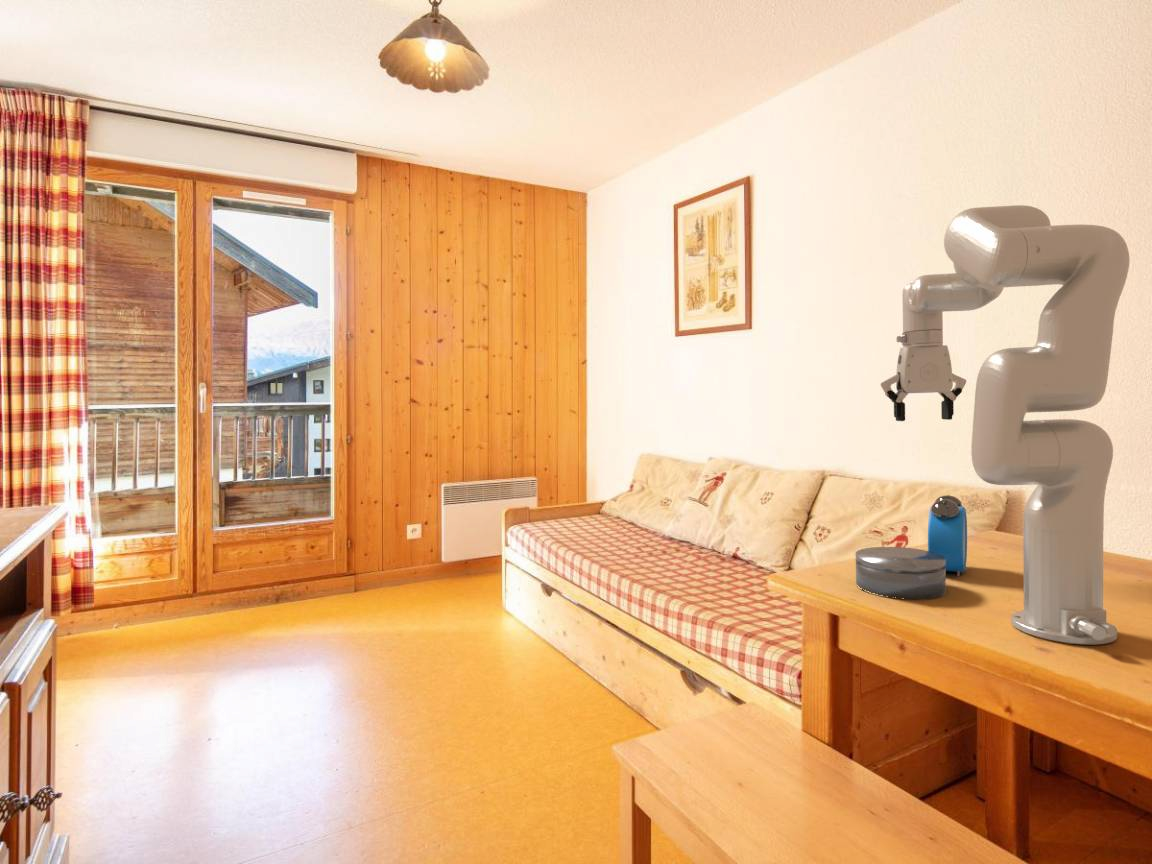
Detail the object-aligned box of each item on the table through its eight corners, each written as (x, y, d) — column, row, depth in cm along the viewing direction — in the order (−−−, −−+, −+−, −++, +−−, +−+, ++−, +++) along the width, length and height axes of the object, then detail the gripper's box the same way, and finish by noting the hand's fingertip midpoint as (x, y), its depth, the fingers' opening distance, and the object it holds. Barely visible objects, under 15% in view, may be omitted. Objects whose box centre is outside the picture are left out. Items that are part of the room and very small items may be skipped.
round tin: (962, 599, 112) (962, 565, 112) (874, 600, 114) (873, 566, 113) (922, 576, 127) (922, 546, 127) (844, 577, 128) (844, 547, 128)
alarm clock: (963, 580, 123) (962, 503, 123) (926, 576, 127) (925, 501, 126) (967, 565, 134) (967, 493, 133) (933, 562, 138) (933, 492, 137)
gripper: (888, 340, 135) (889, 422, 136) (974, 336, 134) (974, 419, 134) (874, 343, 142) (875, 421, 143) (955, 340, 141) (956, 418, 142)
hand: (923, 420), depth 139 cm, fingers open, 9 cm apart
